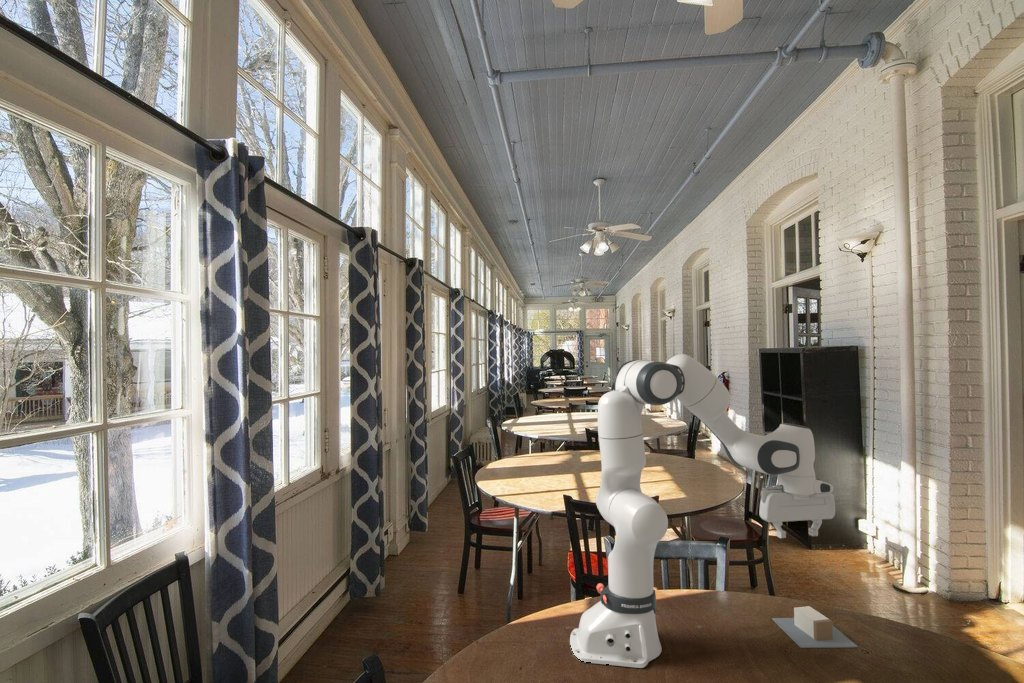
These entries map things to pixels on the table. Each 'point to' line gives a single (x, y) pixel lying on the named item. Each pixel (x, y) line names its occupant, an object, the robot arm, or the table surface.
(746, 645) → the table surface
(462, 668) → the table surface
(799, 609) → the cream block
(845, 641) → the slate mat
